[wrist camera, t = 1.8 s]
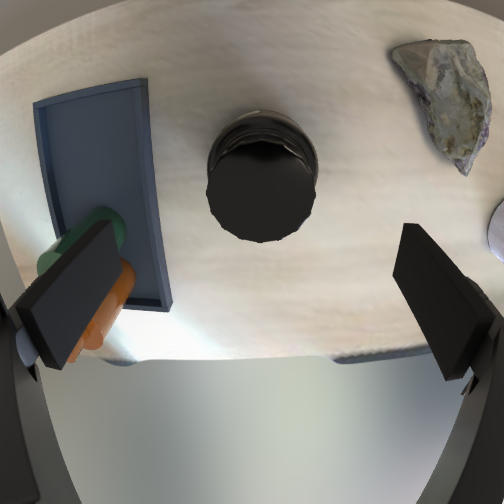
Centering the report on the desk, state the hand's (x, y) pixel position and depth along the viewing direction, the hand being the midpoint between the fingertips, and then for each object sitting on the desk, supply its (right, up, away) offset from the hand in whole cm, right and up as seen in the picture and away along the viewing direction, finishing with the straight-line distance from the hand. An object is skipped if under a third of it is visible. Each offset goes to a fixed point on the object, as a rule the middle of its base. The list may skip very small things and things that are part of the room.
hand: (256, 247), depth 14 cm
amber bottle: (-17, -3, +23) cm, 29 cm away
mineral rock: (+18, +15, +12) cm, 26 cm away
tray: (-17, +5, +19) cm, 26 cm away
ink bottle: (+1, +9, +16) cm, 19 cm away
